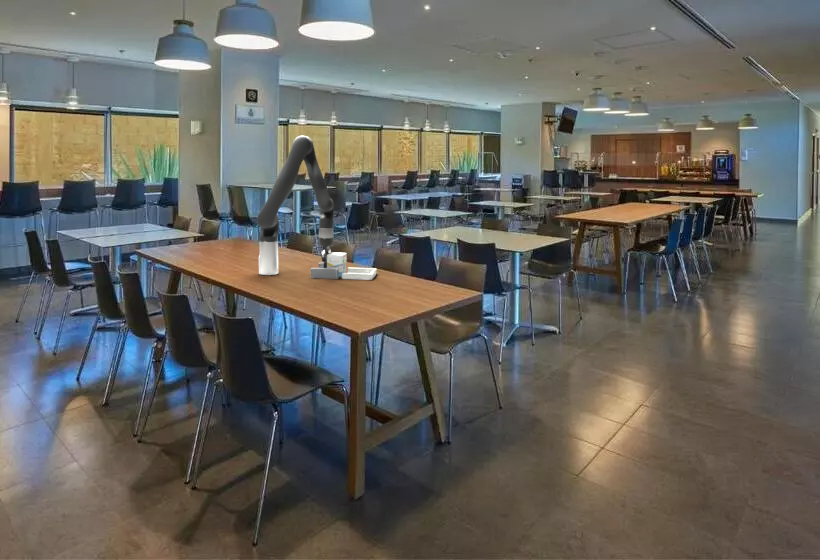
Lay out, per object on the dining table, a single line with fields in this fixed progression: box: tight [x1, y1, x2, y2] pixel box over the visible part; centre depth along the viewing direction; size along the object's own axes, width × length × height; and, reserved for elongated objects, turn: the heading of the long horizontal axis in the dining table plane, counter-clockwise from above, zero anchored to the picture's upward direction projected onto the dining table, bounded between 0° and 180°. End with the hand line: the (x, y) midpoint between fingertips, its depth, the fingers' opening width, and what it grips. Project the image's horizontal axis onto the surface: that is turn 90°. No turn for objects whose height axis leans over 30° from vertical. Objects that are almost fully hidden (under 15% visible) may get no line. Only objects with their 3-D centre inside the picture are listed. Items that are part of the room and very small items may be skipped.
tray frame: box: [341, 267, 377, 281], centre depth 313 cm, size 15×16×3 cm
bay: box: [310, 262, 340, 280], centre depth 314 cm, size 14×18×5 cm
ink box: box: [327, 251, 348, 278], centre depth 313 cm, size 8×8×12 cm
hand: (325, 269), depth 314 cm, fingers closed
